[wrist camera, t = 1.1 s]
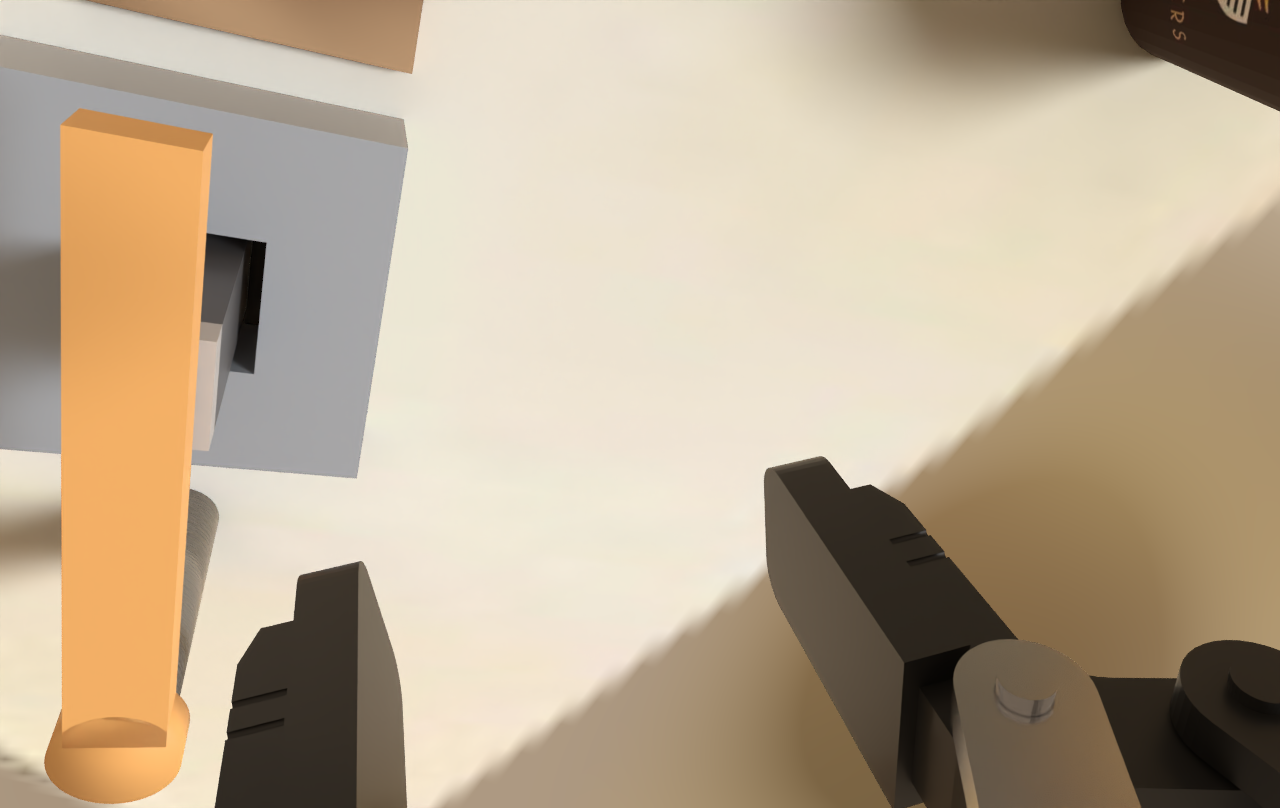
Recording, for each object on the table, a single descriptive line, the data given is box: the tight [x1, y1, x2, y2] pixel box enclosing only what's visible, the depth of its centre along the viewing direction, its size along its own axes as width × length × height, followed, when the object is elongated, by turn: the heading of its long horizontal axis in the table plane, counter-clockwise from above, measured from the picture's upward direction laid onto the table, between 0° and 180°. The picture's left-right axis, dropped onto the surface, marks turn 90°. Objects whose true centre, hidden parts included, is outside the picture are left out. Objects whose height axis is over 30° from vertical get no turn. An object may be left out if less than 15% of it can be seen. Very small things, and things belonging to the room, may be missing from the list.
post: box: [176, 489, 219, 696], centre depth 30 cm, size 2×2×9 cm
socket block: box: [0, 35, 408, 478], centre depth 28 cm, size 11×11×4 cm
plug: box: [192, 233, 252, 451], centre depth 26 cm, size 3×3×9 cm
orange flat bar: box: [44, 108, 213, 804], centre depth 22 cm, size 18×3×1 cm, turn 164°
